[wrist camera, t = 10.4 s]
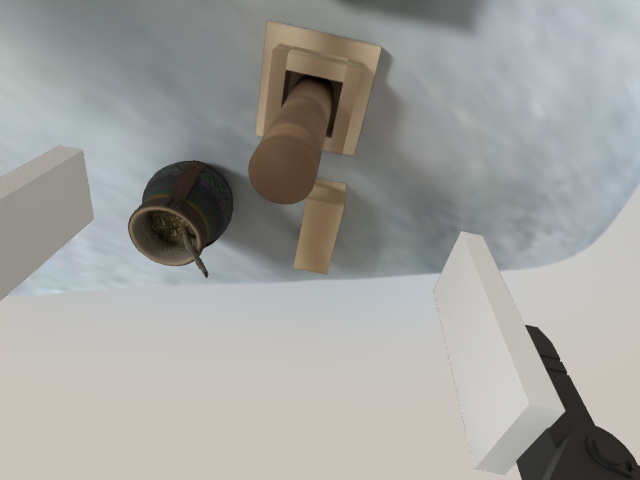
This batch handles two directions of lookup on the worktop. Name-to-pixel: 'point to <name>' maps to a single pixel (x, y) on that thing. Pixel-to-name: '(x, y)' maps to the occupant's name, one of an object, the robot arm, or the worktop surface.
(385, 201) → the worktop surface
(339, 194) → the block
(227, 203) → the mate gourd
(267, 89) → the socket block
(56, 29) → the worktop surface
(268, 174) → the dowel
